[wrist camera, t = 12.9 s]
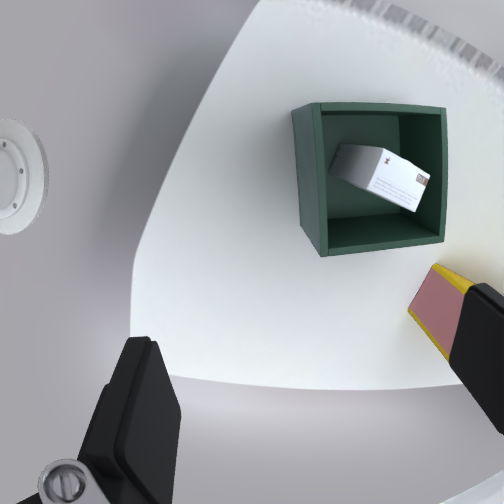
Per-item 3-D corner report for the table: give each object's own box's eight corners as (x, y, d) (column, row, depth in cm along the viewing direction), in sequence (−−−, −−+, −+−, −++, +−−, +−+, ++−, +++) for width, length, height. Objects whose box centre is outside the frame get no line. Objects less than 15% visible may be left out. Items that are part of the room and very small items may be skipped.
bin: (300, 225, 42) (320, 257, 31) (291, 110, 36) (311, 102, 26) (401, 216, 42) (444, 242, 31) (399, 110, 36) (446, 107, 26)
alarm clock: (405, 311, 47) (494, 430, 23) (434, 262, 44) (547, 363, 20) (476, 336, 51) (550, 423, 26) (500, 297, 48) (586, 376, 23)
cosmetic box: (326, 173, 38) (362, 192, 27) (340, 140, 37) (381, 145, 26) (368, 192, 39) (414, 217, 28) (381, 160, 38) (432, 175, 27)
